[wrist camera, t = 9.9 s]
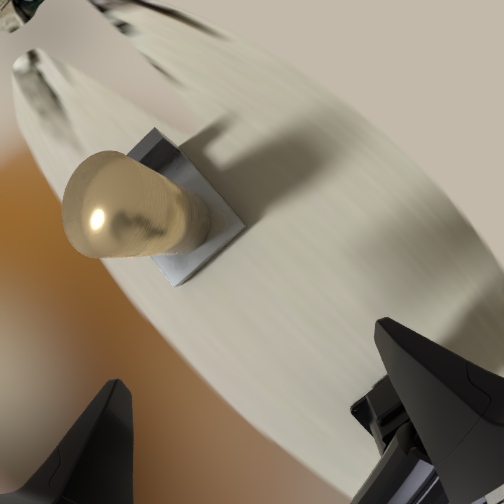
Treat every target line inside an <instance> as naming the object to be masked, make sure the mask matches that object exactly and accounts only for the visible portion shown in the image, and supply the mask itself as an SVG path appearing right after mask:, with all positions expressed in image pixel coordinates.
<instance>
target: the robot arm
mask: <svg viewBox="0 0 504 504" xmlns="http://www.w3.org/2000/svg"><path fill="white" fill-rule="evenodd" d="M374 340H375V344H376V346H377V348H378V351H379V353H380V356H381V358H382V361H383V363H384V366H385V368H386V371H387V373H388V376H389V377H388V378H386V379H385V380H384V381H383V382H381V383H380V384H379V385H378V386H376V387H375V388H374V389H372V390H371V391H370V392H368V393H367V395H366V396H365V397H363V398H362V399H361V400H359V401H358V402H357V403H355V404H354V405H352V406H351V408H350V411H351V414H352V415H353V416H354V417H355V418H356V419H357V420H358V421H359V423H360V424H361V425H362V426H363V427H364V428H365V429H366V430H367V431H368V432H369V433H370V434H371V435H372V436H373V437H374V439H375V442H376V444H377V447H378V450H379V453H380V455H381V459H380V460H379V462H378V463H377V465H376V466H375V468H374V469H373V471H372V472H371V474H370V475H369V477H368V478H367V480H366V481H365V483H364V484H363V485H362V487H361V488H360V489H359V491H358V492H357V494H356V495H355V496H354V498H353V500H352V502H351V503H350V504H504V378H503V377H501V376H498V375H496V374H494V373H492V372H489V371H487V370H485V369H483V368H481V367H479V366H477V365H475V364H473V363H472V362H470V361H468V360H465V359H464V358H462V357H460V356H459V355H457V354H455V353H453V352H451V351H450V350H448V349H446V348H444V347H442V346H440V345H439V344H437V343H435V342H433V341H431V340H429V339H428V338H426V337H424V336H422V335H420V334H418V333H416V332H415V331H413V330H411V329H409V328H407V327H405V326H404V325H402V324H400V323H398V322H396V321H394V320H392V319H391V318H389V317H384V318H381V319H378V320H377V321H376V323H375V333H374ZM357 408H358V410H357V411H354V410H355V409H357ZM133 441H134V426H133V408H132V395H131V392H130V391H129V389H128V388H127V387H126V386H125V384H124V383H123V382H122V381H121V380H120V379H119V378H116V379H110V380H108V381H107V382H106V384H105V385H104V386H103V387H102V389H101V390H100V391H99V392H98V394H97V395H96V396H95V397H94V399H93V400H92V401H91V402H90V404H89V405H88V406H87V408H86V409H85V410H84V412H83V413H82V414H81V415H80V417H79V418H78V419H77V420H76V422H75V423H74V424H73V426H72V427H71V428H70V429H69V431H68V432H67V433H66V435H65V436H64V437H63V439H62V440H61V441H60V443H59V444H58V446H57V447H56V448H55V449H54V450H53V452H52V453H51V454H50V455H49V457H48V458H47V459H46V461H45V462H44V463H43V464H42V465H41V466H40V468H39V469H38V470H37V471H36V472H35V473H34V474H33V475H32V476H31V477H30V478H29V480H28V481H27V482H26V483H25V484H24V485H23V486H22V487H21V488H20V489H18V490H16V491H14V492H10V493H6V494H0V504H134V502H133V445H134V443H133Z"/></svg>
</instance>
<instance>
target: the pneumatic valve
mask: <svg viewBox="0 0 504 504" xmlns="http://www.w3.org/2000/svg"><path fill="white" fill-rule="evenodd" d="M8 1H9V0H0V11H1V10H2V8H3V7H4V6H5V5H6V4H7V3H8Z"/></svg>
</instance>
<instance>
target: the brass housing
mask: <svg viewBox="0 0 504 504" xmlns="http://www.w3.org/2000/svg"><path fill="white" fill-rule="evenodd" d="M62 221H63V226H64V230H65V233H66V235H67V237H68V239H69V241H70V242H71V244H72V245H73V246H74V248H75V249H76V250H78V251H79V252H80V253H82V254H83V255H86V256H88V257H92V258H114V257H136V256H158V255H180V254H186V253H189V252H192V251H193V250H195V249H196V248H198V247H199V246H200V245H201V244H202V243H203V241H204V240H205V238H206V236H207V234H208V231H209V227H210V215H209V211H208V208H207V206H206V204H205V202H204V201H203V200H202V199H201V198H200V197H199V196H198V195H196V194H195V193H193V192H191V191H190V190H188V189H186V188H184V187H182V186H181V185H179V184H177V183H175V182H173V181H172V180H170V179H168V178H166V177H165V176H163V175H161V174H159V173H157V172H156V171H154V170H152V169H150V168H148V167H146V166H145V165H143V164H141V163H139V162H137V161H136V160H134V159H132V158H130V157H128V156H126V155H125V154H123V153H120V152H117V151H102V152H99V153H96V154H94V155H92V156H90V157H89V158H87V159H86V160H85V161H83V162H82V163H81V164H80V165H79V166H78V167H77V169H76V170H75V171H74V173H73V174H72V176H71V178H70V180H69V182H68V184H67V186H66V189H65V192H64V196H63V202H62Z"/></svg>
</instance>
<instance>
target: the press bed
mask: <svg viewBox="0 0 504 504" xmlns="http://www.w3.org/2000/svg"><path fill="white" fill-rule="evenodd" d="M126 156H128V157H130V158H132V159H134V160H136V161H137V162H139V163H141V164H143V165H145V166H146V167H148V168H150V169H152V170H154V171H156V172H157V173H159V174H161V175H163V176H165V177H166V178H168V179H170V180H172V181H173V182H175V183H177V184H179V185H181V186H182V187H184V188H186V189H188V190H190V191H191V192H193V193H195V194H196V195H198V196H199V197H200V198H201V199H202V200H203V201H204V202H205V204H206V206H207V208H208V211H209V215H210V227H209V231H208V234H207V236H206V238H205V240H204V241H203V243H202V244H201V245H200V246H199V247H198V248H196V249H195V250H193V251H192V252H189V253H186V254H180V255H158V256H150V257H151V258H152V259H153V261H154V262H155V264H156V265H157V266H158V268H159V269H160V270H161V271H162V273H163V274H164V275H165V277H166V278H167V279H168V281H169V282H170V283H171V285H172V286H173V287H177V286H180V285H182V284H183V283H184V282H185V281H186V280H187V279H189V278H190V277H191V276H192V275H193V274H194V273H195V272H196V271H198V270H199V269H200V268H201V267H202V266H203V265H204V264H205V263H206V262H208V261H209V260H210V259H211V258H212V257H213V256H214V255H216V254H217V253H218V252H219V251H220V250H221V249H222V248H223V247H225V246H226V245H227V244H228V243H229V242H230V241H231V240H233V239H234V238H235V237H236V236H237V235H238V234H239V233H240V232H242V231H243V230H244V229H245V228H246V227H247V226H246V224H245V223H244V222H243V221H242V220H241V219H240V217H239V216H238V215H237V214H236V213H235V212H234V210H233V209H232V208H231V207H230V206H229V205H228V203H227V202H226V201H225V200H224V199H223V198H222V197H221V195H220V194H219V193H218V192H217V191H216V190H215V188H214V187H213V186H212V185H211V184H210V183H209V181H208V180H207V179H206V178H205V177H204V176H203V175H202V173H201V172H200V171H199V170H198V169H197V168H196V167H195V165H194V164H193V163H192V162H191V161H190V160H189V158H188V157H187V156H186V155H185V154H184V153H183V152H182V150H181V149H180V148H179V147H178V146H177V145H176V144H174V143H173V142H172V141H171V140H170V139H168V138H167V137H166V136H165V135H164V134H162V133H161V132H160V131H159V130H158V129H156V128H155V127H154V128H153V129H152V130H151V131H150V132H149V133H148V134H147V135H146V136H145V137H144V138H143V139H142V140H141V141H140V142H139V143H138V144H137V145H136V146H135V147H134V148H133V149H132V150H131V151H130V152H129V153H128V154H127V155H126Z"/></svg>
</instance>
